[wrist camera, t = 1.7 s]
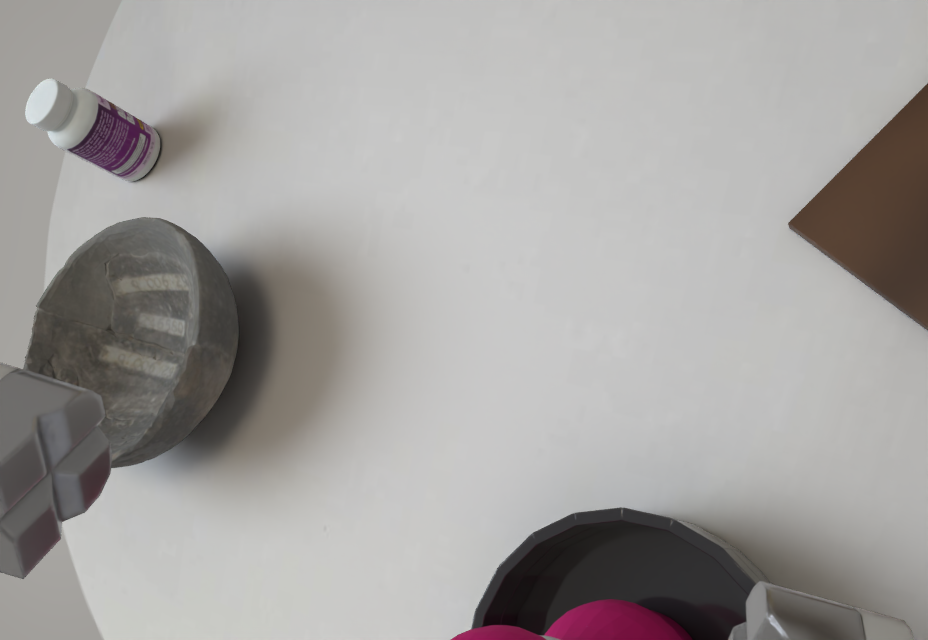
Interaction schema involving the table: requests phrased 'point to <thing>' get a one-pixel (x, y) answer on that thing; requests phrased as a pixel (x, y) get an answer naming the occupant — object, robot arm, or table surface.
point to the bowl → (140, 333)
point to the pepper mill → (593, 625)
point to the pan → (622, 573)
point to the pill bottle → (94, 129)
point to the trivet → (880, 213)
